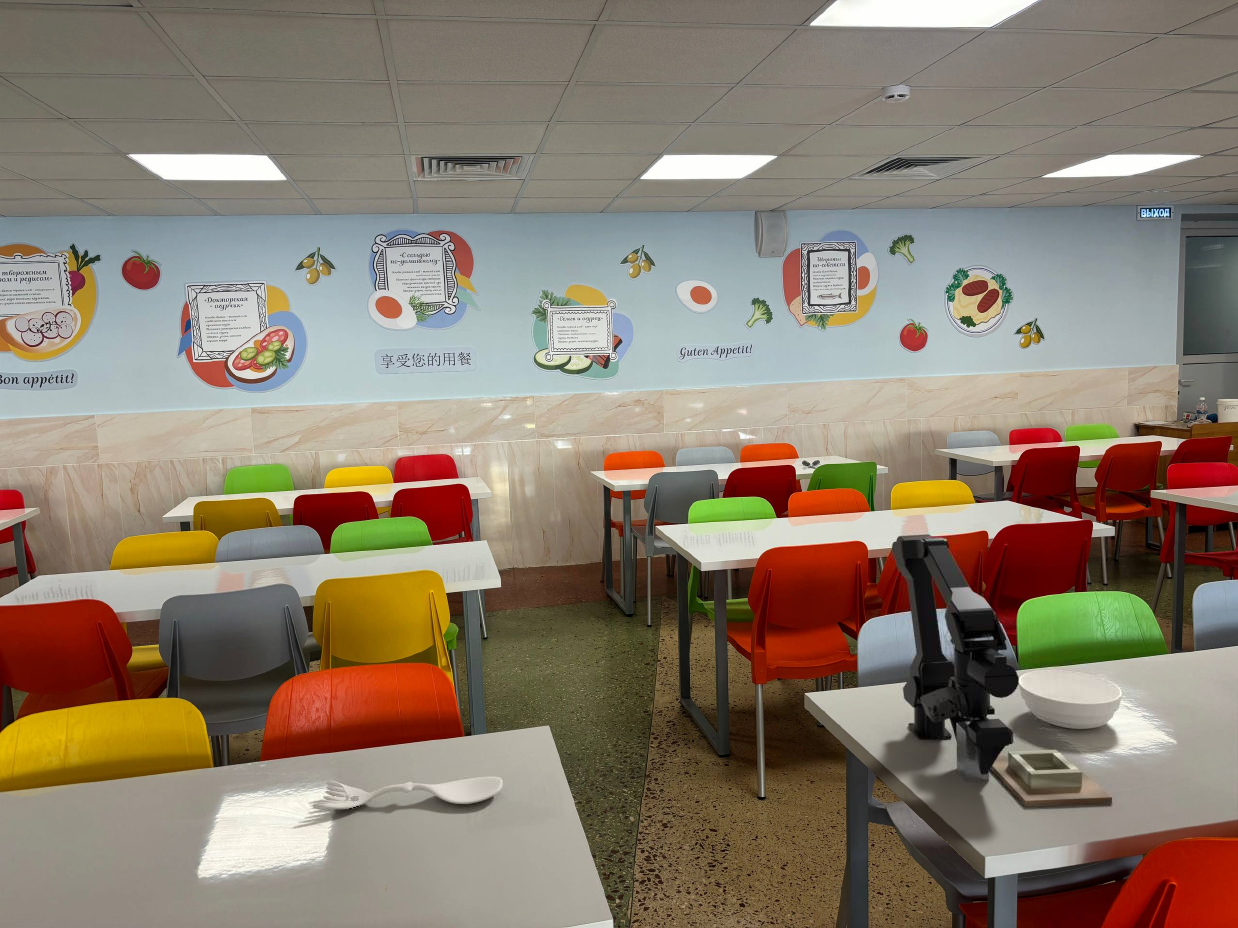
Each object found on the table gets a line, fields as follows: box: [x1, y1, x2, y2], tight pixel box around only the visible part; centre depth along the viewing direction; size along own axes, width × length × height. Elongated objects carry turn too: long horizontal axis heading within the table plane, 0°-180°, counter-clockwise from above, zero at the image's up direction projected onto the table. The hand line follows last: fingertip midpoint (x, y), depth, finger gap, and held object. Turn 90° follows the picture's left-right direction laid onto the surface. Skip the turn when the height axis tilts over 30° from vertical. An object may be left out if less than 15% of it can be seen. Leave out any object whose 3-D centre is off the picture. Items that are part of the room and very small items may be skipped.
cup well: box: [990, 749, 1113, 808], centre depth 141 cm, size 16×14×4 cm
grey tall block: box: [956, 722, 990, 782], centre depth 144 cm, size 4×4×9 cm
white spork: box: [312, 776, 504, 811], centre depth 145 cm, size 9×32×4 cm, turn 93°
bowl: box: [1018, 669, 1123, 730], centre depth 165 cm, size 18×18×7 cm
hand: (972, 761), depth 144 cm, fingers open, 9 cm apart
